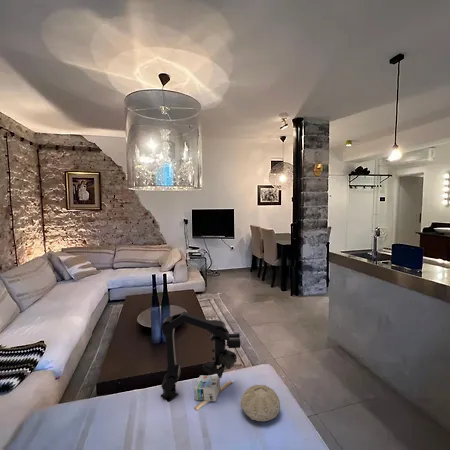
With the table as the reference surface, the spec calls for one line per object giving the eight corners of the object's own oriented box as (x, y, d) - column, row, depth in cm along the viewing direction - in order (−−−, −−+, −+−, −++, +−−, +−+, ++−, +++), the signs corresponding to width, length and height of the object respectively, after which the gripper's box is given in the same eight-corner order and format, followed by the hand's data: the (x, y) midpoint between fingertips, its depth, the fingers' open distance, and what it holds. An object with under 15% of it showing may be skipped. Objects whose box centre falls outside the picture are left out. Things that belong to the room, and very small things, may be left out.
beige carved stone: (247, 431, 115) (247, 408, 114) (236, 402, 132) (235, 382, 131) (286, 422, 119) (286, 400, 118) (270, 395, 136) (270, 376, 135)
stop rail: (194, 408, 128) (194, 407, 128) (229, 381, 148) (229, 380, 148) (197, 410, 127) (197, 409, 127) (232, 382, 146) (232, 381, 146)
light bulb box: (214, 388, 131) (193, 387, 133) (215, 402, 131) (194, 400, 133) (219, 375, 141) (199, 374, 143) (220, 388, 141) (200, 387, 143)
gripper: (219, 361, 123) (219, 394, 124) (244, 345, 137) (244, 375, 138) (201, 353, 131) (202, 384, 132) (227, 338, 145) (227, 367, 146)
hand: (220, 377), depth 137 cm, fingers closed
